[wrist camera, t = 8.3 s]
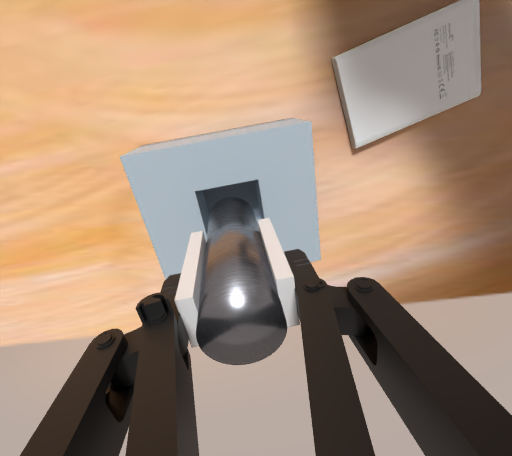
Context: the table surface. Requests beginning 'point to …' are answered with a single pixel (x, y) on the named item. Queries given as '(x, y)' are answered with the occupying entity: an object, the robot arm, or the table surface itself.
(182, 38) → the table surface
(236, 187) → the socket block
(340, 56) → the external hard drive
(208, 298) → the pin
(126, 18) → the table surface
